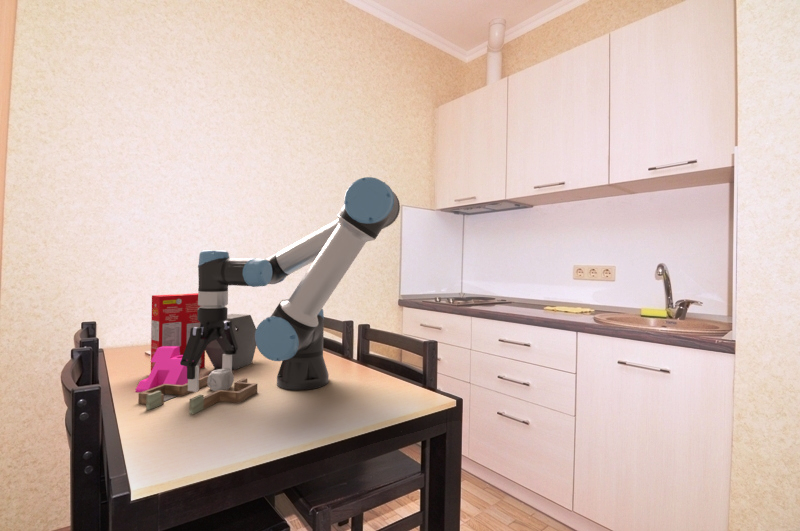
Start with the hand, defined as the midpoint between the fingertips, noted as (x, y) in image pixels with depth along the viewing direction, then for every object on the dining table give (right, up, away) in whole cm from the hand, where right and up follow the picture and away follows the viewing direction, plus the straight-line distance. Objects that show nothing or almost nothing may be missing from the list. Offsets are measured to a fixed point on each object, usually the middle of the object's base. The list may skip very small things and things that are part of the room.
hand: (211, 383), depth 111 cm
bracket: (-15, -3, +5) cm, 16 cm away
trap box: (-1, -2, -4) cm, 5 cm away
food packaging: (-21, -2, +21) cm, 30 cm away
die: (+1, -3, +4) cm, 5 cm away
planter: (-6, -3, +29) cm, 29 cm away
